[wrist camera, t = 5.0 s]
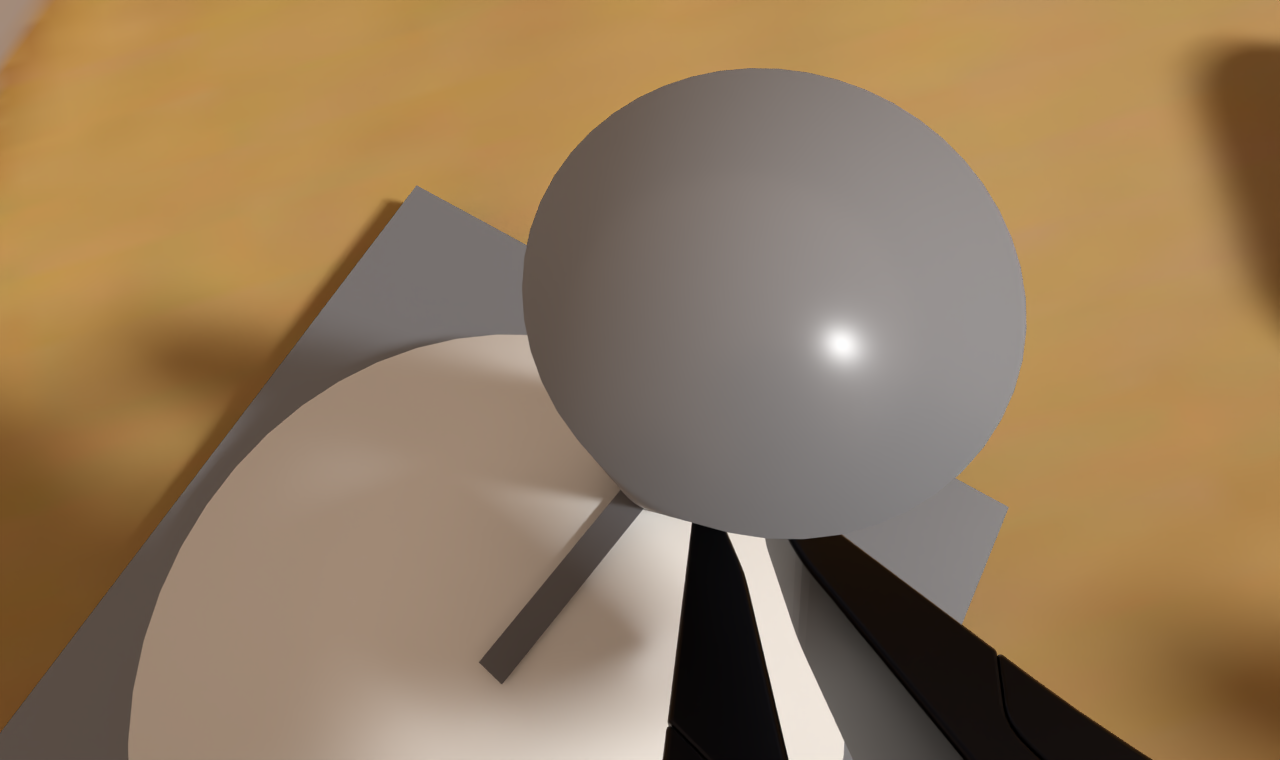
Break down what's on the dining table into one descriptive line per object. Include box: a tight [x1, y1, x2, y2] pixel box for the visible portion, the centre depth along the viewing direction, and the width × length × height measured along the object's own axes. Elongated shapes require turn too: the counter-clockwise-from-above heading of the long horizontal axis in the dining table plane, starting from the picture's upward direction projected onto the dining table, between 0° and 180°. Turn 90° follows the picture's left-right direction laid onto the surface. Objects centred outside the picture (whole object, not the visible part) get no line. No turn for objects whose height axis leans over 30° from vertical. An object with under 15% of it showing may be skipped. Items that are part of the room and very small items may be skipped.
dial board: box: [0, 186, 1009, 760], centre depth 16 cm, size 22×22×2 cm
